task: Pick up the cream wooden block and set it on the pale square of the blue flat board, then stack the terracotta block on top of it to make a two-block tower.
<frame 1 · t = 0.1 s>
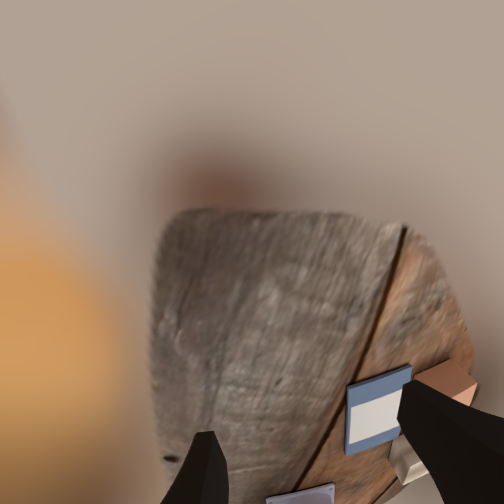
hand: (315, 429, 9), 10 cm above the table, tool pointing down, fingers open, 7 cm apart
cream block: (407, 442, 24), on the table
terracotta block: (429, 384, 22), on the table
blue flat board: (376, 414, 22), on the table
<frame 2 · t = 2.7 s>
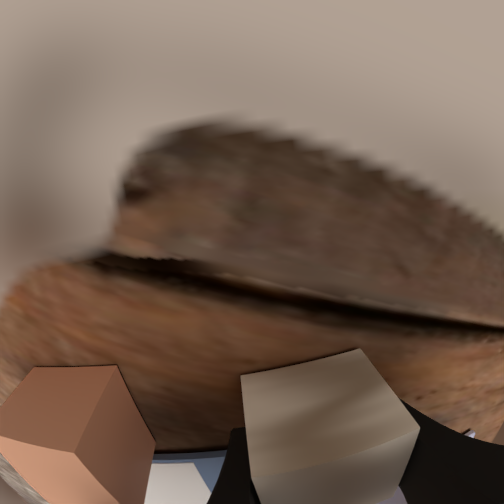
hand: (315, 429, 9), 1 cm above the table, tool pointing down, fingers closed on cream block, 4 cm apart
cream block: (306, 405, 10), on the table, touching gripper
terracotta block: (92, 408, 10), on the table
blue flat board: (159, 484, 11), on the table
when the fingers open (3 cm above the table, at t = 5.8 s): cream block stays where it is, resting on blue flat board.
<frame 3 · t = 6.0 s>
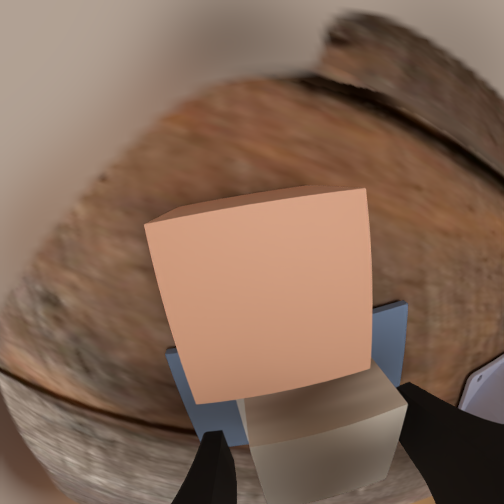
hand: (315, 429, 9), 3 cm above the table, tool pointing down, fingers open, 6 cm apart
cream block: (301, 389, 11), resting on blue flat board
terracotta block: (254, 258, 10), on the table
blue flat board: (298, 385, 12), on the table
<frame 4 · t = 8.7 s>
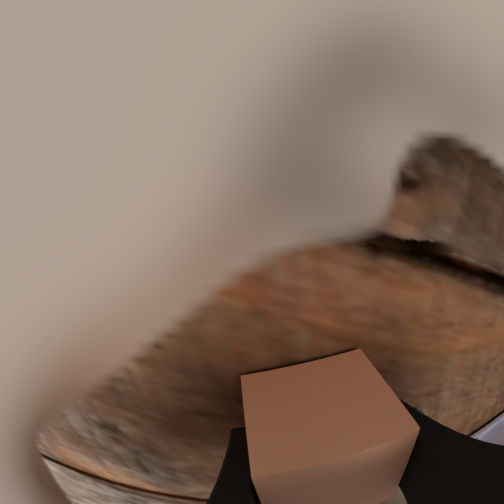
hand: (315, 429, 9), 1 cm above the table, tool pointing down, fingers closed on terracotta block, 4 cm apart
terracotta block: (306, 405, 10), on the table, touching gripper
when the fingers open (7 cm above the table, at t = 11.0 s): terracotta block stays where it is, resting on cream block.
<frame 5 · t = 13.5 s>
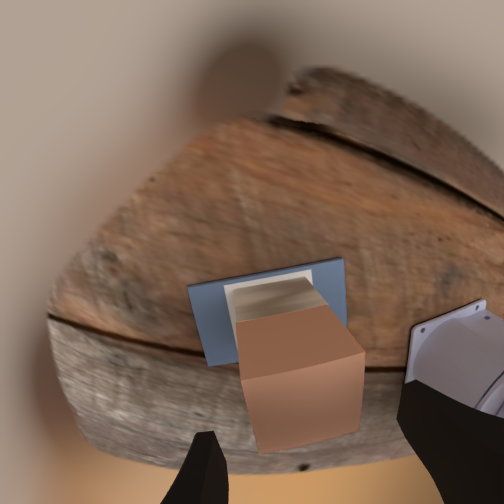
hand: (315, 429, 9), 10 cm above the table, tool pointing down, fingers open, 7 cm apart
cream block: (274, 315, 19), resting on blue flat board, touching terracotta block
terracotta block: (287, 352, 14), point 5 cm above the table, touching cream block
blue flat board: (272, 314, 19), on the table
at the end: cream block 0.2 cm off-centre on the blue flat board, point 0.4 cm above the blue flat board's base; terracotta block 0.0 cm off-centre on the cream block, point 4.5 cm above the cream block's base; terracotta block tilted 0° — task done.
